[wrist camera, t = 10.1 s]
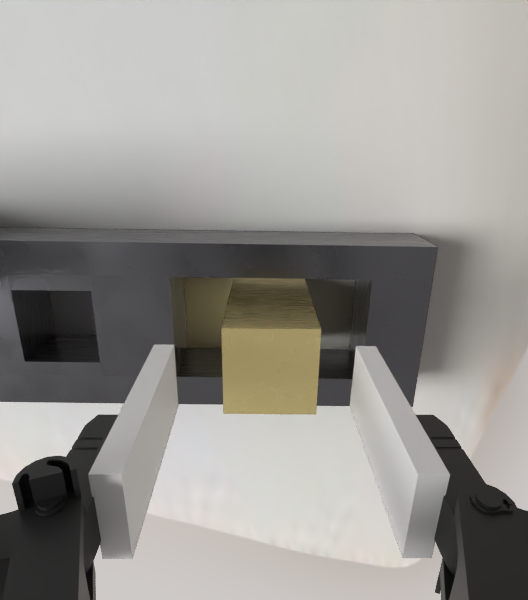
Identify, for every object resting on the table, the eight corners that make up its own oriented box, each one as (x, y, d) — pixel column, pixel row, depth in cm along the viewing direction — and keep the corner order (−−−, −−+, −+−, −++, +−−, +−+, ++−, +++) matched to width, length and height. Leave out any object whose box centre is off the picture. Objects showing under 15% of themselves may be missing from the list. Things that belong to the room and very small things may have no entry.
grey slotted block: (-17, 226, 23) (-63, 239, 20) (413, 233, 23) (438, 246, 20) (13, 370, 26) (-22, 401, 23) (394, 374, 26) (412, 406, 23)
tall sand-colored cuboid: (234, 273, 24) (221, 328, 17) (303, 274, 24) (321, 329, 17) (235, 336, 26) (223, 413, 18) (300, 337, 26) (316, 414, 18)
